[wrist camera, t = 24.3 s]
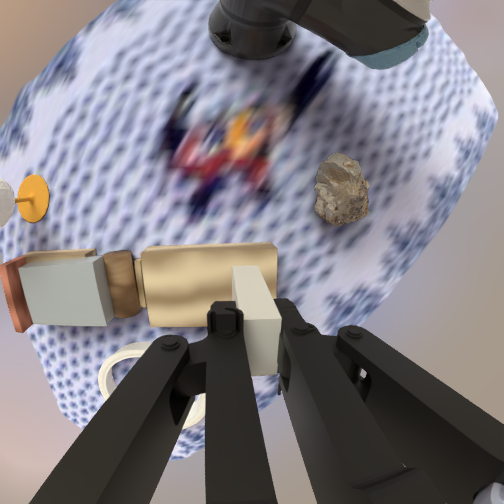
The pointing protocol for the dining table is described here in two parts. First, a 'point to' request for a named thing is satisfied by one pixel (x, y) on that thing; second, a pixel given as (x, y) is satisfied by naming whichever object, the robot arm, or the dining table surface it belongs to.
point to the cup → (24, 199)
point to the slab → (68, 292)
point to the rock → (341, 190)
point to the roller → (122, 283)
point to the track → (162, 279)
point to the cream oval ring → (138, 350)
